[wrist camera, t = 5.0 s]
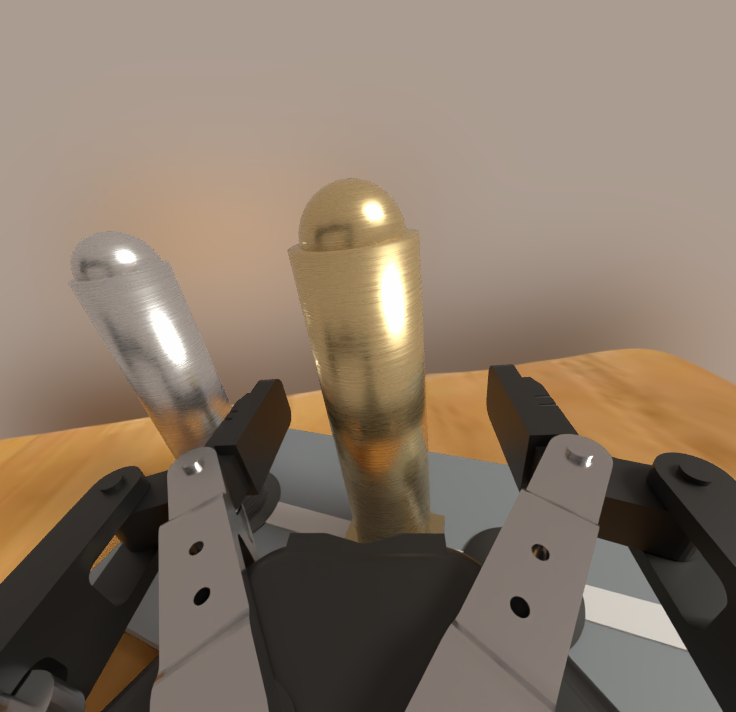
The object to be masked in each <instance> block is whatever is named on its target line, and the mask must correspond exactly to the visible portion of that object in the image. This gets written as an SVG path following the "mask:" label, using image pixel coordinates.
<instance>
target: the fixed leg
mask: <svg viewBox="0 0 736 712" xmlns="http://www.w3.org/2000/svg"><path fill="white" fill-rule="evenodd" d="M71 271H72V274H73V276H74V278H75V279H73V280H71V281H69V282H68V283H69V285H70V287H71V288H72V290H73V292H74V293H75V295H76V297H77V298H78V300H79V302H80V303H81V305H82V306H83V308H84V310H85V311H86V313H87V315H88V316H89V318H90V320H91V321H92V323H93V324H94V326H95V328H96V329H97V331H98V333H99V334H100V336H101V338H102V339H103V341H104V342H105V344H106V346H107V347H108V349H109V351H110V352H111V354H112V356H113V357H114V359H115V360H116V362H117V364H118V365H119V367H120V369H121V370H122V372H123V373H124V375H125V377H126V378H127V380H128V382H129V383H130V385H131V387H132V388H133V390H134V391H135V393H136V395H137V397H138V398H139V400H140V402H141V403H142V405H143V406H144V408H145V410H146V411H147V413H148V415H149V416H150V418H151V420H152V421H153V423H154V424H155V426H156V428H157V429H158V431H159V433H160V434H161V436H162V438H163V439H164V441H165V442H166V444H167V446H168V447H169V449H170V451H171V452H172V454H173V456H174V457H175V459H176V460H177V459H178V458H179V457H181V456H182V455H183V454H185V453H187V452H189V451H191V450H193V449H196V448H200V447H204V446H205V444H206V443H207V442H208V440H209V439H210V437H211V436H212V435H213V433H214V432H215V431H216V429H217V428H218V426H219V425H220V424H221V422H222V421H224V418H225V417H226V416H227V414H228V413H230V410H231V409H232V406H231V404H230V402H229V399H228V397H227V395H226V393H225V390H224V388H223V386H222V383H221V381H220V379H219V376H218V374H217V372H216V369H215V367H214V365H213V363H212V360H211V358H210V355H209V353H208V351H207V349H206V346H205V344H204V342H203V339H202V337H201V335H200V332H199V330H198V328H197V325H196V323H195V321H194V319H193V316H192V314H191V312H190V310H189V307H188V305H187V302H186V300H185V298H184V295H183V293H182V291H181V289H180V287H179V284H178V282H177V279H176V277H175V275H174V273H173V270H172V268H171V266H170V263H169V261H162V260H161V258H160V257H159V255H158V254H157V253H156V252H155V251H154V249H152V248H151V247H150V246H149V245H148V244H147V243H145V242H144V241H142V240H140V239H139V238H136V237H134V236H132V235H129V234H126V233H121V232H111V231H107V232H100V233H96V234H92V235H90V236H88V237H86V238H84V239H83V240H82V241H80V242H79V243H78V245H77V246H76V247H75V249H74V250H73V253H72V256H71ZM267 496H268V490H267V487H266V485H265V483H264V485H263V487H262V489H261V492H260V494H259V495H246V496H245V498H244V500H243V502H242V504H243V506H244V508H245V511H246V515H247V518H248V521H250V520H251V519H253V518H254V517H255V516H256V515H257V514H258V513H259V512H260V511H261V509H262V508H263V506H264V505H265V503H266V500H267Z"/></svg>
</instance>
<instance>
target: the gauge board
mask: <svg viewBox="0 0 736 712" xmlns="http://www.w3.org/2000/svg"><path fill="white" fill-rule="evenodd" d="M428 455H429V479H430V503H431V513H434V514H439V515H443V516H445V540H446V547H449V548H452V549H455V550H458V551H460V552H463V553H465V554H467V555H468V556H470V557H472V558H474V559H475V560H477V561H478V562H480V563H481V564H482V565H483V564H484V562H485V560H486V558H487V556H488V554H489V552H490V550H491V548H492V546H493V544H494V542H495V540H496V538H497V536H498V534H499V532H500V530H501V528H502V526H503V524H504V522H505V520H506V518H507V516H508V514H509V512H510V510H511V508H512V506H513V504H514V502H515V500H516V498H517V496H518V495H519V490H518V488H517V485H516V483H515V480H514V478H513V475H512V473H511V470H510V468H509V465H505V464H499V463H493V462H487V461H481V460H475V459H469V458H463V457H457V456H451V455H445V454H439V453H433V452H428ZM265 485H266V487H267V490H268V496H267V500H266V503H265V505H264V506H263V508H262V509H261V511H260V512H259V513H258V514H257V515H256V516H255V517H254V518H253V519H251V520H250V521H249V524H250V528H251V531H252V534H253V538H254V541H255V544H256V547H257V551H258V553H259V556H260V558H262V557H263V556H265V555H267V554H268V553H270V552H272V551H274V550H277V549H279V548H282V547H285V546H286V545H287V541H288V538H289V535H290V533H328V534H331V535H335V536H338V537H341V538H345V535H346V533H347V530H348V528H349V525H350V523H351V520H352V518H353V516H352V512H351V508H350V504H349V500H348V496H347V492H346V488H345V484H344V480H343V476H342V471H341V467H340V463H339V459H338V455H337V451H336V447H335V443H334V439H333V436H331V435H325V434H319V433H313V432H307V431H301V430H295V429H289V428H288V430H287V432H286V435H285V437H284V439H283V442H282V444H281V446H280V448H279V451H278V453H277V455H276V458H275V460H274V462H273V464H272V467H271V469H270V471H269V473H268V476H267V478H266V480H265ZM121 544H122V542H120V543H119V544H118V545H117V546H116V547H115V548H114V549H113V550H112V551H111V552H110V553H109V554H108V555H107V556H106V557H105V558H104V559H103V560H102V561H101V562H100V563H99V564H98V565H97V566H96V567H95V568H94V569H93V570H92V571H91V572H90V574H89V581H90V584H91V585H93V584H94V583H95V581H96V580H97V578H98V577H99V576H100V574H101V573H102V571H103V570H104V568H105V567H106V566H107V564H108V563H109V561H110V560H111V559H112V557H113V556H114V554H115V553H116V552H117V550H118V549H119V547H120V546H121ZM125 632H127V633H128V634H130V635H132V636H134V637H135V638H137V639H139V640H141V641H142V642H144V643H146V644H148V645H149V646H151V647H153V648H155V649H156V650H158V651H159V571H158V573H157V575H156V576H155V578H154V580H153V582H152V583H151V585H150V587H149V589H148V591H147V592H146V594H145V596H144V598H143V599H142V601H141V603H140V605H139V607H138V608H137V610H136V612H135V614H134V615H133V617H132V619H131V621H130V622H129V624H128V626H127V628H126V630H125ZM568 655H569V656H570V657H571V658H572V660H573V661H574V662H575V663H576V664H577V665H578V666H579V667H580V668H581V669H582V670H583V672H584V673H585V674H586V675H587V676H588V677H589V678H590V679H591V680H592V681H593V682H594V684H595V685H596V686H597V687H598V688H599V689H600V690H601V691H602V692H603V693H604V694H605V696H606V697H607V698H608V699H609V700H610V701H611V702H612V703H613V704H614V705H615V706H616V708H617V709H618V710H619V711H620V712H723V711H722V709H721V708H720V706H719V704H718V702H717V701H716V699H715V697H714V696H713V694H712V692H711V690H710V689H709V687H708V685H707V683H706V682H705V680H704V678H703V676H702V675H701V673H700V671H699V670H698V668H697V666H696V664H695V663H694V661H693V659H692V657H691V656H690V654H689V652H688V650H687V649H686V647H685V645H684V644H683V642H682V640H681V638H680V637H679V635H678V633H677V631H676V630H675V628H674V626H673V624H672V623H671V621H670V619H669V617H668V616H667V614H666V612H665V611H664V609H663V607H662V605H661V604H660V602H659V600H658V598H657V597H656V595H655V593H654V591H653V590H652V588H651V586H650V585H649V583H648V581H647V579H646V578H645V576H644V574H643V572H642V571H641V569H640V567H639V565H638V564H637V562H636V560H635V559H634V557H633V555H632V553H631V552H630V550H629V548H628V546H624V545H621V544H617V543H614V542H610V541H607V540H603V539H600V538H597V540H596V544H595V548H594V552H593V556H592V560H591V564H590V568H589V572H588V576H587V581H586V585H585V589H584V593H583V597H582V601H581V605H580V609H579V613H578V617H577V621H576V625H575V629H574V633H573V637H572V641H571V645H570V649H569V653H568Z"/></svg>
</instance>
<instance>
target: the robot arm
mask: <svg viewBox="0 0 736 712" xmlns="http://www.w3.org/2000/svg"><path fill="white" fill-rule="evenodd" d="M487 411H488V415H489V418H490V421H491V423H492V426H493V428H494V431H495V433H496V436H497V438H498V441H499V443H500V446H501V448H502V451H503V453H504V456H505V458H506V460H507V463H508V465H509V468H510V470H511V473H512V475H513V478H514V480H515V483H516V485H517V488H518V490H519V495H518V496H517V498H516V500H515V502H514V504H513V506H512V508H511V510H510V512H509V514H508V516H507V518H506V520H505V522H504V524H503V526H502V528H501V530H500V532H499V534H498V536H497V538H496V540H495V542H494V544H493V546H492V548H491V550H490V552H489V554H488V556H487V558H486V560H485V562H484V564H483V565H482V564H481V563H480V562H478V561H477V560H475V559H474V558H472V557H470V556H468V555H467V554H465V553H463V552H460V551H458V550H455V549H452V548H449V547H446V540H445V533H404V534H400V535H396V536H393V537H389V538H385V539H381V540H377V541H374V542H370V543H358V542H355V541H352V540H348V539H345V538H341V537H338V536H335V535H331V534H328V533H290V535H289V538H288V541H287V545H286V546H285V547H282V548H279V549H277V550H274V551H272V552H270V553H268V554H267V555H265V556H263V557H262V558H260V556H259V553H258V551H257V547H256V544H255V541H254V538H253V534H252V531H251V528H250V524H249V521H248V518H247V515H246V511H245V508H244V506H243V504H242V502H243V500H244V498H245V496H246V495H259V494H260V492H261V489H262V487H263V485H264V483H265V480H266V478H267V476H268V473H269V471H270V469H271V467H272V464H273V462H274V460H275V458H276V455H277V453H278V451H279V448H280V446H281V444H282V442H283V439H284V437H285V435H286V432H287V430H288V428H289V426H290V422H291V410H290V406H289V403H288V400H287V397H286V394H285V391H284V388H283V384H282V382H281V381H280V380H279V379H271V380H260V381H258V383H257V384H256V385H255V387H254V388H253V390H252V391H251V393H247V394H246V395H245V396H243V397H242V398H241V399H239V400H238V401H237V402H236V403H235V405H234V406H233V407H232V409H231V410H230V413H228V414H227V416H226V417H225V418H224V421H222V422H221V424H220V425H219V426H218V428H217V429H216V431H215V432H214V433H213V435H212V436H211V437H210V439H209V440H208V442H207V443H206V444H205V446H204V447H200V448H196V449H193V450H191V451H189V452H187V453H185V454H183V455H182V456H181V457H179V458H178V459H177V460H176V461H175V462H174V463H173V464H172V465H171V466H170V468H169V470H168V471H164V472H161V473H157V474H153V475H150V476H146V477H145V475H144V474H143V473H142V471H141V470H140V469H139V468H138V467H135V466H129V467H124V468H121V469H118V470H116V471H113V472H112V473H110V474H108V475H106V476H105V477H103V478H102V479H100V480H99V481H98V482H97V483H96V484H94V485H93V486H92V487H91V489H90V490H89V491H88V492H87V493H86V494H85V495H84V496H83V497H82V498H81V499H80V500H79V501H78V502H77V503H76V504H75V505H74V507H73V508H72V509H71V510H70V511H69V512H68V513H67V514H66V515H65V516H64V517H63V518H62V519H61V520H60V521H59V522H58V524H57V525H56V526H55V527H54V528H53V529H52V530H51V531H50V532H49V533H48V534H47V535H46V536H45V537H44V538H43V539H42V540H41V542H40V543H39V544H38V545H37V546H36V547H35V548H34V549H33V550H32V551H31V552H30V553H29V554H28V555H27V556H26V557H25V559H24V560H23V561H22V562H21V563H20V564H19V565H18V566H17V567H16V568H15V569H14V570H13V571H12V572H11V573H10V574H9V575H8V577H7V578H6V579H5V580H4V581H3V582H2V583H1V584H0V712H84V711H85V701H86V699H87V697H88V695H89V694H90V692H91V690H92V688H93V686H94V685H95V683H96V681H97V679H98V678H99V676H100V674H101V672H102V670H103V669H104V667H105V665H106V663H107V662H108V660H109V658H110V656H111V654H112V653H113V651H114V649H115V647H116V646H117V644H118V642H119V640H120V638H121V637H122V635H123V633H124V631H125V630H126V628H127V626H128V624H129V622H130V621H131V619H132V617H133V615H134V614H135V612H136V610H137V608H138V607H139V605H140V603H141V601H142V599H143V598H144V596H145V594H146V592H147V591H148V589H149V587H150V585H151V583H152V582H153V580H154V578H155V576H156V575H157V573H158V571H159V655H158V656H157V657H156V658H155V659H154V660H153V661H152V662H151V663H150V664H149V665H148V666H147V667H146V668H145V669H144V670H143V671H142V672H141V673H140V674H139V675H138V676H137V677H136V678H135V679H134V680H133V681H132V682H131V683H130V684H129V685H128V686H127V687H126V688H125V689H124V690H123V691H121V692H120V693H119V694H118V695H117V696H116V697H115V698H114V699H113V700H112V701H111V702H110V703H109V704H108V705H107V706H106V707H105V708H104V709H103V710H102V711H101V712H620V711H619V710H618V709H617V708H616V706H615V705H614V704H613V703H612V702H611V701H610V700H609V699H608V698H607V697H606V696H605V694H604V693H603V692H602V691H601V690H600V689H599V688H598V687H597V686H596V685H595V684H594V682H593V681H592V680H591V679H590V678H589V677H588V676H587V675H586V674H585V673H584V672H583V670H582V669H581V668H580V667H579V666H578V665H577V664H576V663H575V662H574V661H573V660H572V658H571V657H570V656H569V655H568V653H569V649H570V645H571V641H572V637H573V633H574V629H575V625H576V621H577V617H578V613H579V609H580V605H581V601H582V597H583V593H584V589H585V585H586V581H587V576H588V572H589V568H590V564H591V560H592V556H593V552H594V548H595V544H596V540H597V538H600V539H603V540H607V541H610V542H614V543H617V544H621V545H624V546H628V548H629V550H630V552H631V553H632V555H633V557H634V559H635V560H636V562H637V564H638V565H639V567H640V569H641V571H642V572H643V574H644V576H645V578H646V579H647V581H648V583H649V585H650V586H651V588H652V590H653V591H654V593H655V595H656V597H657V598H658V600H659V602H660V604H661V605H662V607H663V609H664V611H665V612H666V614H667V616H668V617H669V619H670V621H671V623H672V624H673V626H674V628H675V630H676V631H677V633H678V635H679V637H680V638H681V640H682V642H683V644H684V645H685V647H686V649H687V650H688V652H689V654H690V656H691V657H692V659H693V661H694V663H695V664H696V666H697V668H698V670H699V671H700V673H701V675H702V676H703V678H704V680H705V682H706V683H707V685H708V687H709V689H710V690H711V692H712V694H713V696H714V697H715V699H716V701H717V702H718V704H719V706H720V708H721V709H722V711H723V712H736V481H735V480H734V479H733V478H732V477H731V476H730V475H729V474H727V473H726V472H725V471H723V470H722V469H720V468H719V467H717V466H715V465H714V464H712V463H710V462H708V461H705V460H703V459H700V458H698V457H695V456H691V455H687V454H682V453H664V454H661V455H659V456H657V457H656V459H655V460H654V462H653V465H647V464H642V463H637V462H632V461H627V460H622V459H617V458H614V457H611V455H610V454H609V452H608V451H607V450H606V449H605V448H604V447H603V446H601V445H600V444H598V443H597V442H595V441H593V440H591V439H589V438H586V437H583V436H580V435H578V433H577V432H576V430H575V429H574V428H573V426H572V425H571V424H570V422H569V421H568V420H567V418H566V417H565V415H564V414H563V413H562V411H561V410H560V409H559V407H558V406H556V403H555V402H554V400H553V399H552V398H551V397H550V395H549V394H548V392H547V391H546V389H545V388H544V387H543V385H541V384H540V383H538V382H537V381H535V380H534V379H532V378H531V377H521V375H520V374H519V372H518V371H517V369H516V368H515V366H514V365H512V364H509V365H493V366H490V368H489V374H488V387H487ZM114 535H116V536H117V537H118V539H119V540H120V541H121V542H122V544H121V546H120V547H119V549H118V550H117V552H116V553H115V554H114V556H113V557H112V559H111V560H110V561H109V563H108V564H107V566H106V567H105V568H104V570H103V571H102V573H101V574H100V576H99V577H98V578H97V580H96V581H95V583H94V584H93V585H91V584H90V581H89V574H90V570H91V568H92V565H93V564H94V562H95V561H96V559H97V558H98V557H99V555H100V554H101V553H102V551H103V550H104V549H105V547H106V546H107V545H108V543H109V542H110V541H111V539H112V538H113V537H114Z"/></svg>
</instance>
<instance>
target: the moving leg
mask: <svg viewBox="0 0 736 712" xmlns="http://www.w3.org/2000/svg"><path fill="white" fill-rule="evenodd" d="M288 255H289V259H290V263H291V267H292V271H293V275H294V279H295V283H296V287H297V291H298V295H299V300H300V304H301V307H302V312H303V316H304V320H305V324H306V328H307V332H308V336H309V341H310V345H311V349H312V353H313V357H314V361H315V365H316V369H317V373H318V377H319V381H320V385H321V390H322V394H323V398H324V402H325V406H326V410H327V414H328V418H329V422H330V426H331V431H332V435H333V439H334V443H335V447H336V451H337V455H338V459H339V463H340V467H341V471H342V476H343V480H344V484H345V488H346V492H347V496H348V500H349V504H350V508H351V512H352V516H353V518H352V520H351V523H350V525H349V528H348V530H347V533H346V535H345V539H348V540H352V541H355V542H358V543H370V542H374V541H377V540H381V539H385V538H389V537H393V536H396V535H400V534H404V533H445V516H443V515H439V514H434V513H431V503H430V479H429V455H428V431H427V408H426V384H425V361H424V336H423V314H422V289H421V265H420V242H419V231H418V230H415V229H408V228H406V226H405V222H404V218H403V215H402V213H401V211H400V209H399V207H398V205H397V203H396V202H395V201H394V199H393V198H392V197H391V196H390V195H389V194H388V193H387V192H386V191H385V190H383V189H382V188H381V187H379V186H377V185H376V184H374V183H372V182H369V181H366V180H362V179H354V178H348V179H341V180H337V181H334V182H332V183H329V184H328V185H326V186H324V187H323V188H321V189H320V190H319V191H318V192H316V194H315V195H314V196H313V197H312V198H311V199H310V201H309V202H308V203H307V206H306V207H305V209H304V211H303V214H302V217H301V221H300V225H299V244H297V245H295V246H292V247H291V248H289V249H288Z"/></svg>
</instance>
